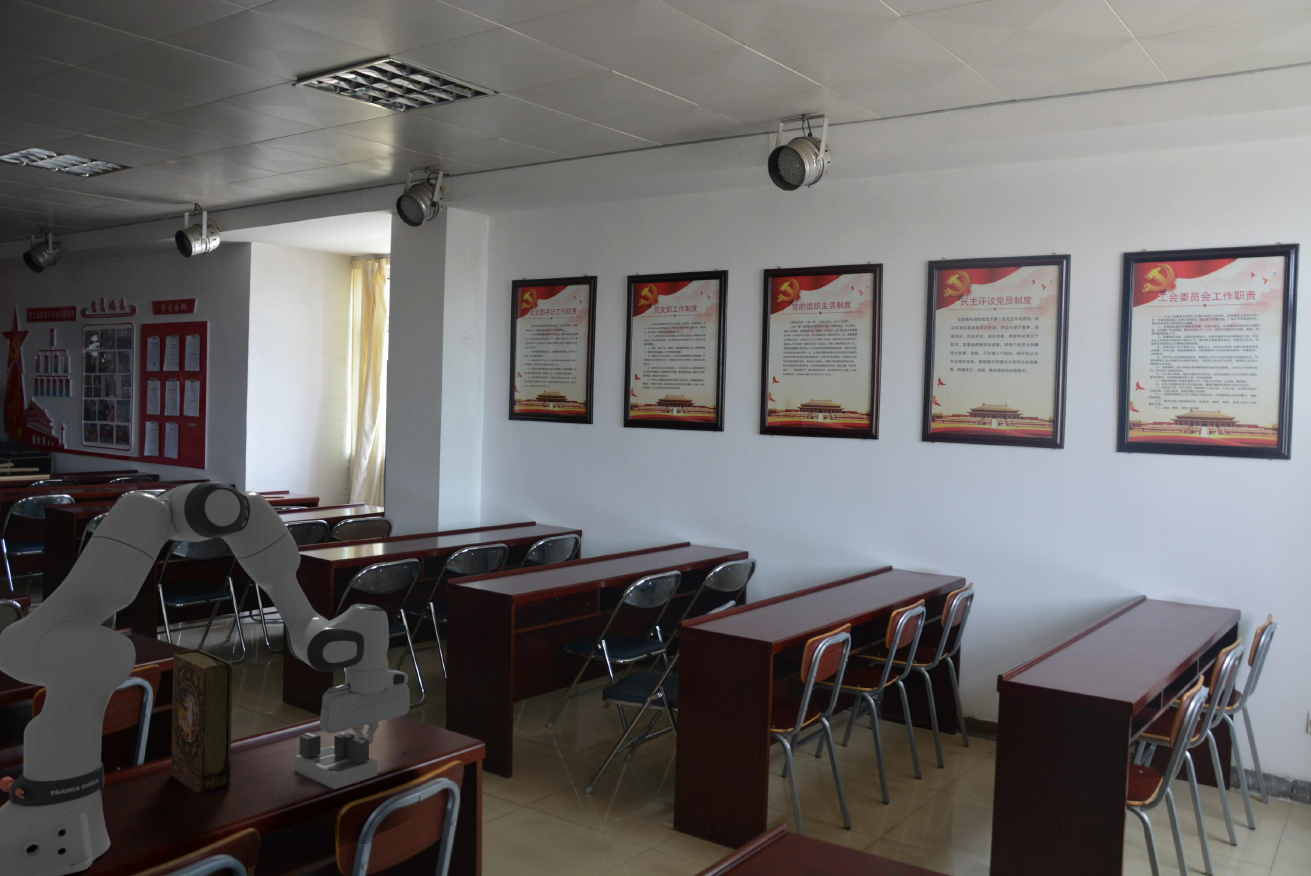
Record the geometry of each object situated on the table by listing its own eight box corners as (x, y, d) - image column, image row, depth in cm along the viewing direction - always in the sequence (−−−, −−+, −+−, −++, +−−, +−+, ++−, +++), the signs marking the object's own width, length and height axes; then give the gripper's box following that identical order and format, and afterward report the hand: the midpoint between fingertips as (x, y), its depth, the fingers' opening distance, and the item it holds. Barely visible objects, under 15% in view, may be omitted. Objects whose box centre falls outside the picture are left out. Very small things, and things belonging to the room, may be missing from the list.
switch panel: (334, 789, 190) (334, 773, 190) (294, 770, 199) (294, 755, 199) (377, 775, 197) (377, 760, 197) (336, 757, 207) (337, 743, 207)
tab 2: (356, 763, 195) (356, 743, 195) (347, 760, 196) (348, 739, 196) (368, 759, 197) (369, 739, 197) (360, 756, 199) (360, 736, 199)
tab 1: (307, 758, 197) (307, 737, 197) (299, 754, 199) (299, 734, 199) (320, 754, 199) (320, 734, 199) (312, 751, 201) (312, 731, 201)
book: (168, 773, 196) (170, 652, 195) (195, 766, 200) (198, 648, 199) (201, 796, 185) (204, 668, 184) (230, 788, 189) (232, 663, 188)
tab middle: (342, 757, 198) (342, 737, 198) (334, 754, 200) (334, 734, 200) (354, 754, 200) (355, 734, 200) (346, 750, 202) (347, 730, 202)
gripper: (331, 692, 193) (329, 759, 194) (414, 673, 209) (413, 736, 209) (314, 686, 197) (312, 752, 198) (397, 668, 213) (395, 729, 213)
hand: (365, 743), depth 204 cm, fingers closed
